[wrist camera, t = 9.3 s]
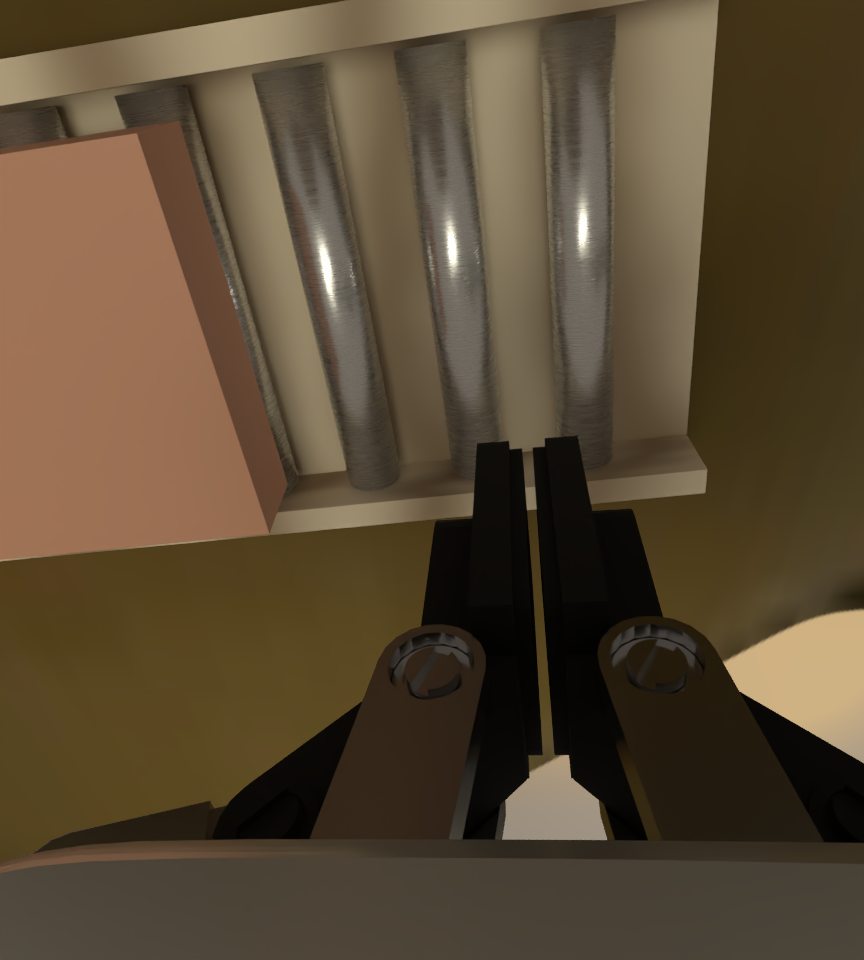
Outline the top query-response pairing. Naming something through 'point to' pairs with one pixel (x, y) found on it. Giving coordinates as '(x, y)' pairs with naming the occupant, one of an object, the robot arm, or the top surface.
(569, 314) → the rollers
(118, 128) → the roller bed
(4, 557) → the slab
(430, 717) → the robot arm
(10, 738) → the top surface
